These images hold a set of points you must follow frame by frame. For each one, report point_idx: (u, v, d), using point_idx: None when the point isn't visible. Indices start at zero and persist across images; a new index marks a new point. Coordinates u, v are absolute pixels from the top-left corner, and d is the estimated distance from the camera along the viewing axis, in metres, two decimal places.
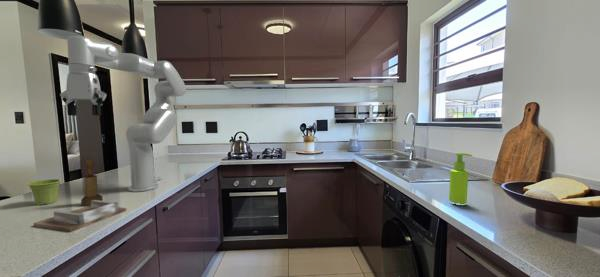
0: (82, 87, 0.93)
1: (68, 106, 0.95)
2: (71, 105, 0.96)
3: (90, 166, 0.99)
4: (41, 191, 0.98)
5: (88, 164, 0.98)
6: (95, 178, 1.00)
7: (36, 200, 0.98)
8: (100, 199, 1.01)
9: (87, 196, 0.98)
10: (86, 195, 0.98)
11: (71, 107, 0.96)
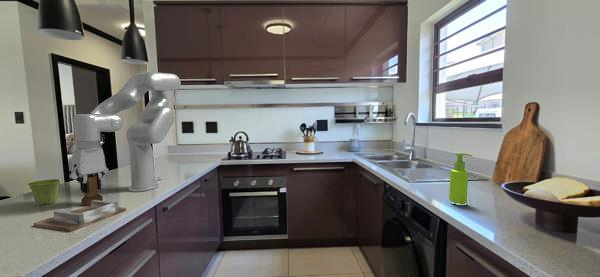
0: (98, 161, 1.01)
1: (87, 184, 0.97)
2: None
3: None
4: (41, 191, 0.98)
5: None
6: (95, 178, 1.00)
7: (36, 200, 0.98)
8: (100, 199, 1.01)
9: (87, 196, 0.98)
10: (86, 195, 0.98)
11: None
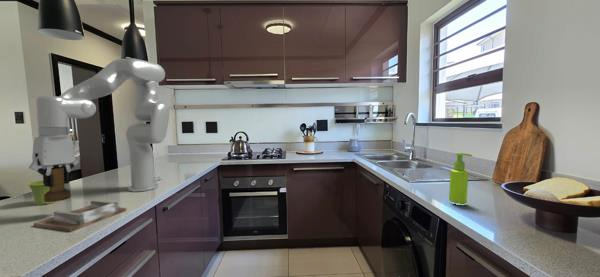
0: (66, 151, 0.88)
1: (51, 176, 0.85)
2: None
3: None
4: (41, 191, 0.98)
5: None
6: (61, 170, 0.87)
7: (36, 200, 0.98)
8: (67, 194, 0.88)
9: (51, 190, 0.85)
10: (50, 189, 0.86)
11: None
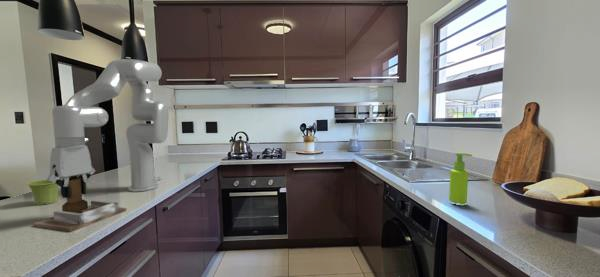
0: (83, 161, 0.86)
1: (69, 187, 0.83)
2: None
3: None
4: (41, 191, 0.98)
5: None
6: (79, 181, 0.86)
7: (36, 200, 0.98)
8: (85, 205, 0.87)
9: (69, 201, 0.84)
10: (68, 200, 0.84)
11: None
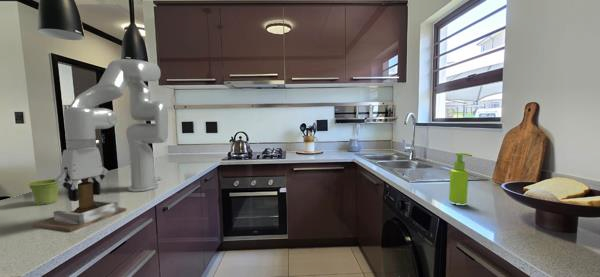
0: (94, 164, 0.85)
1: (77, 190, 0.81)
2: None
3: None
4: (41, 191, 0.98)
5: None
6: (91, 185, 0.85)
7: (36, 200, 0.98)
8: None
9: (81, 207, 0.83)
10: (80, 206, 0.83)
11: None
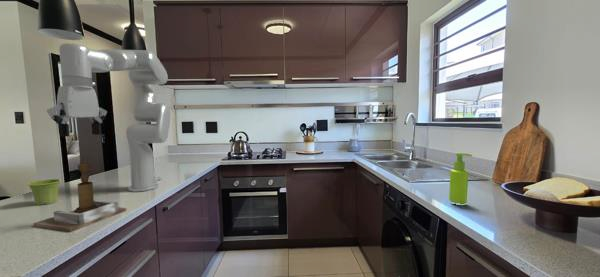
0: (90, 104, 0.84)
1: (67, 125, 0.79)
2: None
3: (85, 171, 0.84)
4: (41, 191, 0.98)
5: (82, 169, 0.83)
6: (91, 185, 0.85)
7: (36, 200, 0.98)
8: None
9: (81, 206, 0.83)
10: (80, 206, 0.83)
11: None
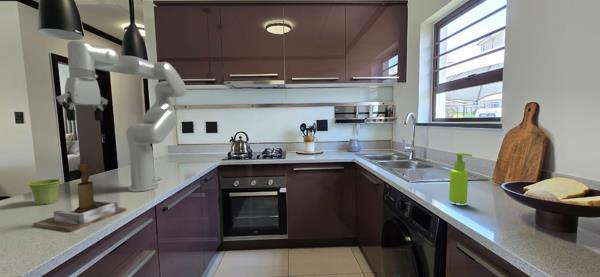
0: (93, 93, 0.97)
1: (74, 111, 0.92)
2: None
3: (85, 171, 0.84)
4: (41, 191, 0.98)
5: (82, 169, 0.83)
6: (91, 185, 0.85)
7: (36, 200, 0.98)
8: None
9: (81, 206, 0.83)
10: (80, 206, 0.83)
11: None
